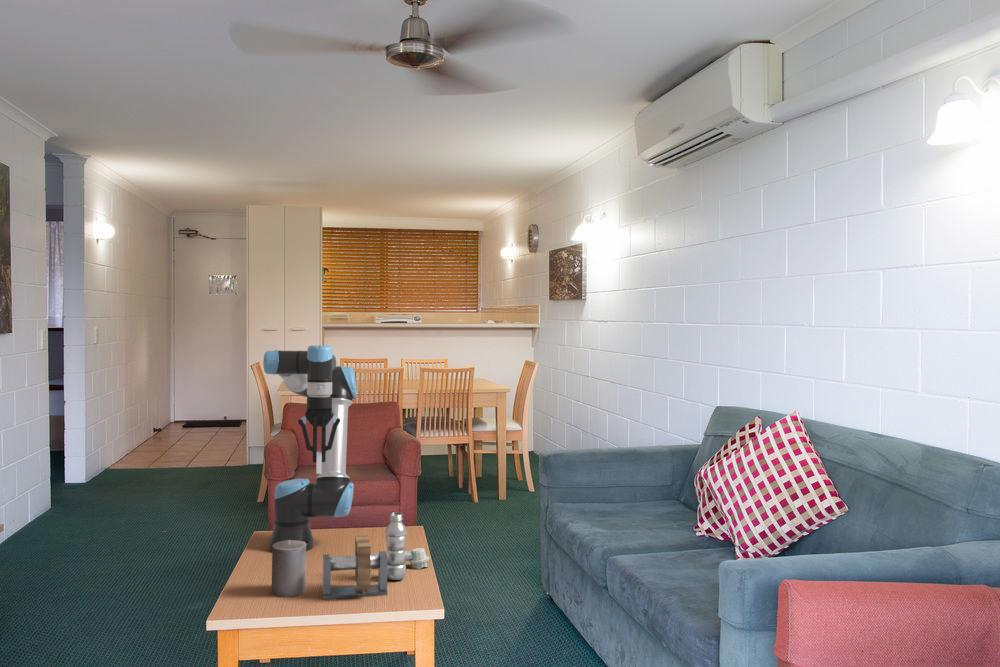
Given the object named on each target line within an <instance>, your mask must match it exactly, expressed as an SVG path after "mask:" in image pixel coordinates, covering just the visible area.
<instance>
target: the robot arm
mask: <svg viewBox="0 0 1000 667" xmlns="http://www.w3.org/2000/svg"><path fill="white" fill-rule="evenodd" d="M263 371H264V374H266V375H273V376H276V375H278V376H279V377H280V378H281V379H282V380H283V382H284V386H285V387H286V389H288V390H289V391H290V392H292V393H294V394H296V395H298V396H301V397H304V398H306V412H305V413H304V416H302V417H301V418H298V419H297V423H298V424H299V425H300V426H301V431H302V436H303V439H304V443H305V447H306V450H307V451H310V452H312V462H313V464H314V463H316V465H315V466H316V470H315V473H316V475H318V476H316V480H315V481H316V482H314V483H313V482H312V483H311V481H310V480H309V478H294V479H288V480H285V481H282V482H279V483H278V484H277V485H275V488H274V498H273V499H274V523H273V524H274V525H273V526H274V527H273V530H272V532H271V535H270V538H269V542H268V550H269V551H270V552H272V546H273V544H275V543H277V542H280V541H286V540H297V541H302V542H306V552H307V551H309V550H311V549H313V548H314V547H315V540H314V535H313V533H312V530H311V527H310V518H340V517H341V518H342V517H348V515H349V514H350V512H351V508H352V503H353V500H354V499H353V498H354V489H355V484H354V483H353V482H352V481H350V480H351V478H350V476H348V474H347V473H346V472H347V450H348V447H347V446H348V423H349V422H348V421H349V420H348V419H349V408H350V406H351V405H352V404H353V400H354V399H357V397H358V391H357V381H356V373H355V369H354V368H352V366H342V365H340V366H337V357H336V356H335V353H333V347H332V346H331V345H326V344H325V345H324V344H323V345H320V344H319V345H317V344H316V345H315V344H314V345H309V346H308V347H307V350H277V349H275V350H267V351H266V352H265V353H264V355H263ZM307 421H308V422H309V424H310V425H311V426H312V445H311V442H310V438H309V435H308V430H307V426H306V424H307ZM318 427H321V428H320V429H321V430H320V431H321V436H320V437H321V438H320V439H321V442H320V443H321V444H320V447H321V448H320V449H321V450H318Z"/></svg>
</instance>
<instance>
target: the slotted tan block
mask: <svg viewBox="0 0 1000 667" xmlns="http://www.w3.org/2000/svg"><path fill="white" fill-rule="evenodd" d="M354 538H355V539H354V540H355V541H354V555H357V569H355V570H354V579H355V582H356V586H357V588H358V590H360V589H370V585H371V579H372V578H371V572H372V568H371V554H372V548H371V547H372V546H371V543H370V540H369V537H368V535H355V537H354Z"/></svg>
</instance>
